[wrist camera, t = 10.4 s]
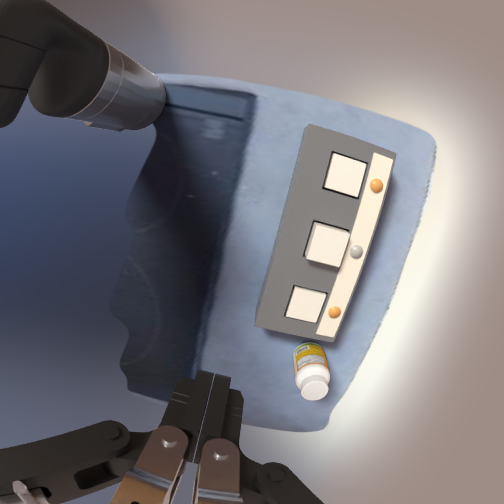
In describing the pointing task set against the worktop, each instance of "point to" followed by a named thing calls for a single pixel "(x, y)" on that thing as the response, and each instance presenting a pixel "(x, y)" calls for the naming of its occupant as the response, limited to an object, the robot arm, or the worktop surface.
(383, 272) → the worktop surface
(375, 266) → the worktop surface
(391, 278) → the worktop surface
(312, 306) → the far key
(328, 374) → the supplement bottle
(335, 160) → the near key
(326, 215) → the button board
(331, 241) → the middle key
